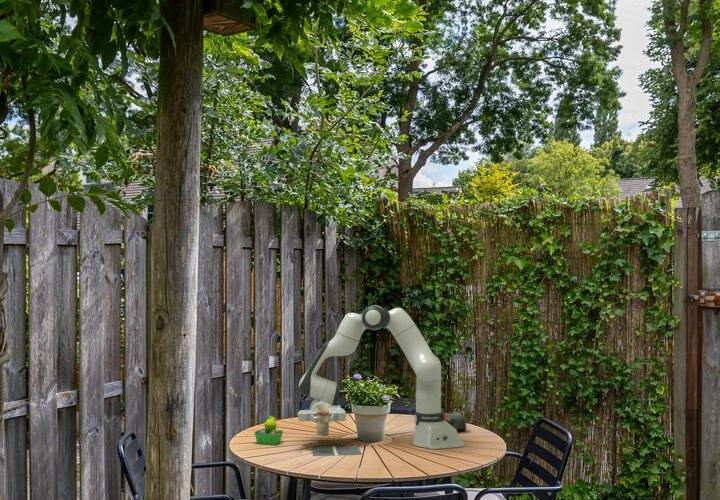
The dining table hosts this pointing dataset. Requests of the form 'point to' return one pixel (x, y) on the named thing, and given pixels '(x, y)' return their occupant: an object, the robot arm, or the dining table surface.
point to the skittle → (322, 420)
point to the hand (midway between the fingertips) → (322, 419)
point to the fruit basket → (269, 433)
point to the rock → (456, 420)
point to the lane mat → (335, 451)
